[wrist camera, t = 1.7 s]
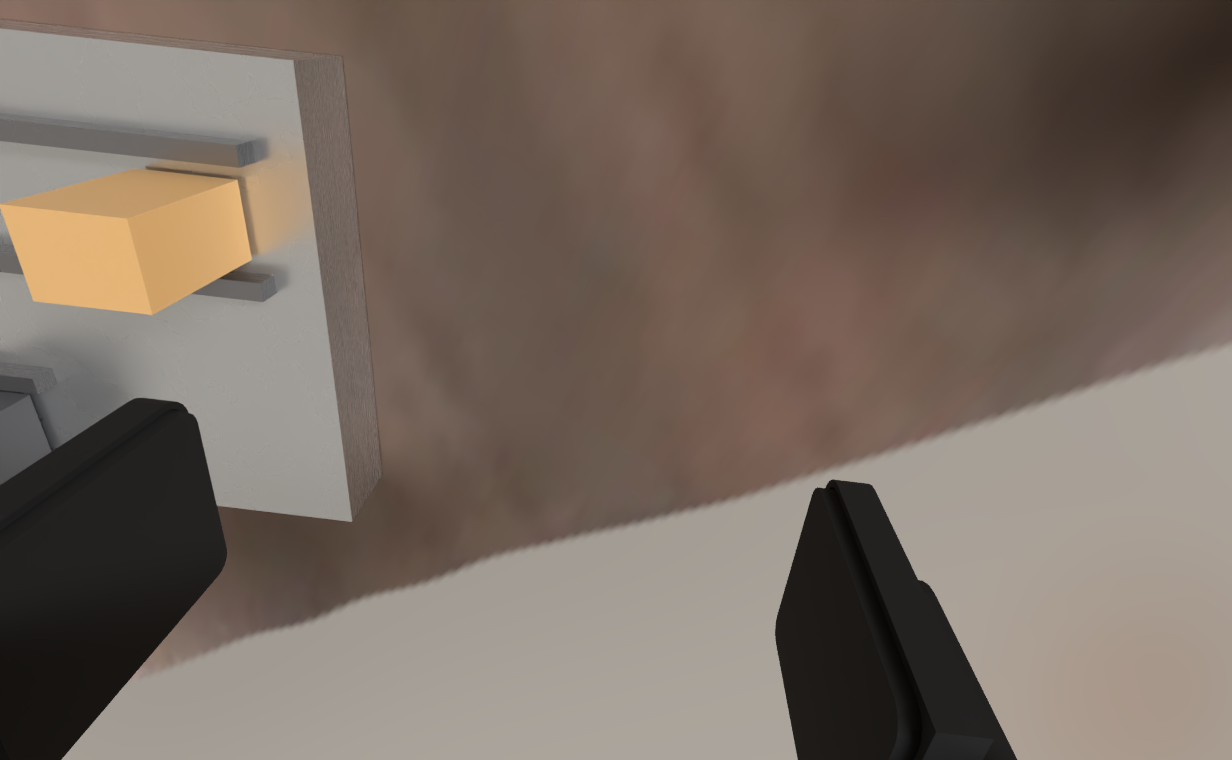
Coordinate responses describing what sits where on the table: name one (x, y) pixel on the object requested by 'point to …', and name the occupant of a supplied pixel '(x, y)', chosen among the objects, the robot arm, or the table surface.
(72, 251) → the orange block
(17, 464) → the fader knob
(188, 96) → the panel
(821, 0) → the table surface
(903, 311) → the table surface
